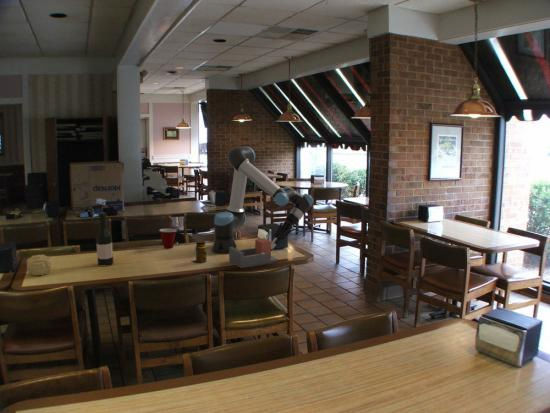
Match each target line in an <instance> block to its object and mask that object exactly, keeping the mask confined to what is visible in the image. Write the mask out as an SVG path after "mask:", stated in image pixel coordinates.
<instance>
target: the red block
mask: <svg viewBox="0 0 550 413" xmlns="http://www.w3.org/2000/svg"><path fill="white" fill-rule="evenodd" d="M254 241H255V242H254V243H255V245H254V247H255V254H261V253H262V252H263V253H269V258H271V256H272V248H271V242H272V241H271V240H269V239H267V238H256V239H255V240H254Z"/></svg>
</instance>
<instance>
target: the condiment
mask: <svg viewBox="0 0 550 413" xmlns="http://www.w3.org/2000/svg"><path fill="white" fill-rule="evenodd" d="M195 244H196V245H195V260H190V262H191V263H193V264H195V265H199V264H206V263H205V262H207V263H209V262H210V261H209V260H208V258H207V246H206V245H207V244H206V241H205V240H198V241H196V243H195Z"/></svg>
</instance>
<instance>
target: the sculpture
mask: <svg viewBox="0 0 550 413" xmlns="http://www.w3.org/2000/svg"><path fill="white" fill-rule="evenodd" d="M50 259H51V258H50V257H49V256H47V255H45V254H36V255H31V257H29V258H28V259H26V268H27V271H28V273H29V274H30V275H31V276H33V275H41V276H43V275H42V274H45V275H47V274H48V273H49V272H50V271H51V268H52V263H51V262H52V261H51V260H50ZM46 273H47V274H46Z"/></svg>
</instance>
